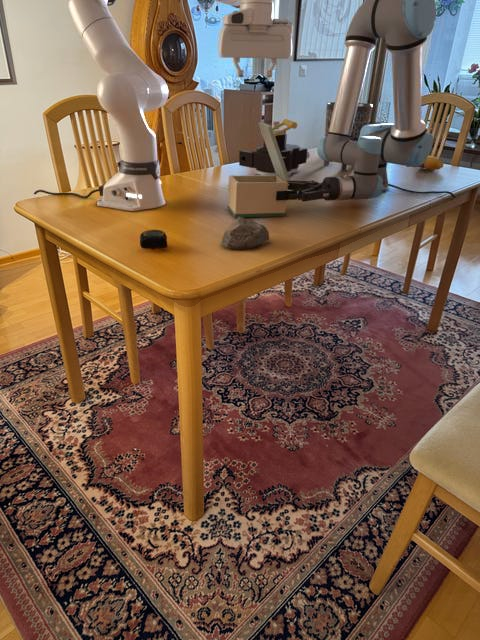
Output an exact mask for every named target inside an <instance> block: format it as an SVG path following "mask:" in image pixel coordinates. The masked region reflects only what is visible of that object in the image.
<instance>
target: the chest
mask: <svg viewBox="0 0 480 640" xmlns="http://www.w3.org/2000/svg"><path fill="white" fill-rule="evenodd" d="M287 189H288V182H286V181H285V180H284V179H283V178H281V177H280V176H278V175H260V174H257V175H256V174H255V175H252V174H251V175H247V174H246V175H228V190H227V191H228V192H227V193H228V195H227V210H228V211H229V212H230V213H231V214H232V216H233V217H234V218H238V217H242V218H263V217H266V218H267V217H269V218H270V217H286V209H287V208H286V206H287V200H278V201H277V200H276V195H277V191H288V190H287Z"/></svg>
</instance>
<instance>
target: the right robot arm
mask: <svg viewBox="0 0 480 640" xmlns="http://www.w3.org/2000/svg"><path fill="white" fill-rule="evenodd" d="M436 19H437V4H436V1H435V0H364V1H363V2H362V3H361V5H359V7H358V8H357V10H356V12H355V13H354V15H353V17H352V19H351V21H350V23H349V25H348V28H347V30H346V35H345V40H344V45H345V48H346V50H345V55H344V59H343V62H342V63H343V64H342V69H341V73H340V78H339V83H338V86H337V92H336V96H335V100H334V102H335V105H334V109H333V114H332V119H331V123H330V128H329V132H328V136H327V137H325V136H323V137H322V138H320V140H319V143H318V144H317V150H316V151H317V156H318V157H319V158H320V159H321V160H323V161H324V160H327V161H330V162H329V163H337V164H342V163H343V164H347V166H352V167H353V171H351V174H350V175H348V174H344V176H326V177H324V178H323V179H322V182H321V183H320V182H319V181H315V180H296V179H293V180H292V179H290V180H288V181H286V180H285V181H286V182H288V189H287V191H277V195H276V200H277V201H278V200H286V201H295V200H297V201H301V202H302V203H304V202H311V201H317V200H324V201H325V202H328V201H329V202H330V201H349V200H371V199H375V198H378V197H380V196H381V194H382V192H386V191H388V189H389V187H391V188H395V189H397V190H399V191H403V192H407V193H412V194H419V195H420V194H421V195H424V194H448V195H450V196H452V197H453V198H456V195H455V194H454V193H453V192H451V191H448V190H440V191H436V190H431V191H420V190H419V191H418V190H410V189H406V188H402V187H400V186H397V185H394V184H390V183H389V178H388V173H387V172H388V171H387V166H388V164H393V165H398V166H403V167H404V166H405V167H406V168H419V166H421V165H422V164H423V163H424V162H425V161H426V159H427V157H428V156H430V154H431V151H432V148H433V145H434V135H433V133H430V132H427V124H426V122H424V121H423V120H422V54H423V53H422V51H423V50H422V48H423V46H424V44H425V43H426V42H427V40H428V36H430V34H431V33H432V31H434V27H435V22H436ZM379 39H384V40H385V48H386V50H387V51H388V52H389V53H391V72H392V97H393V117H394V118H393V120H394V123H373V124H369V125H365V126H363V127H362V128H361V132H360V136H359V139H358V141H351V140H350V136H351V132H352V128H353V123H354V119H355V115H356V111H357V107H358V103H360V98H361V94H362V90H363V87H364V86H363V85H364V81H365V77H366V73H367V69H368V65H369V61H370V56H371V52H372V51H373V50H374V49H376V46H377V42H378V40H379Z"/></svg>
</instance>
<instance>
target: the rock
mask: <svg viewBox="0 0 480 640" xmlns="http://www.w3.org/2000/svg"><path fill="white" fill-rule="evenodd" d="M269 241H270V233H269V230H268V229H267V228H266V226H265V225H263V224H261V223H259V222H256V221H255V220H252V219H247V218H246V217H236V219H235V221H234V222H233V223H232V224H231V225H229V226H228V227H227V228H226V229H225V231H224V233H223V236H222V239H221V244H222V247H224V248H229V249H231V250H245V249H254V248H257V247H259V246H260V245H264V244H266V242H269Z"/></svg>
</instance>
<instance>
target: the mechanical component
mask: <svg viewBox="0 0 480 640" xmlns="http://www.w3.org/2000/svg"><path fill="white" fill-rule="evenodd" d="M280 123H281V122H280V121H279V120H272V125H271V127H272V128H273V127H275V126H277V125H278V124H280ZM284 128H285V127H279V128H277V129H275V130H273V132H274V134H275V133H277V132H279V131H280V130H282V129H284ZM275 138H276V141H277V144H278V147H279V150H280V153H281V155H282V158H283V161H284V164H285V167H286V170H287V173H288V176H291V175H292V173H298V171H299V167H300V165H303V164H304V165H305V164H307V160H309V158H310V156H311V154H310V152H309V151H308V148H304V147H301V146H299V145H297V144H290V143H287V138H288V130H287V131H285V132H283V133H281V134H279V135H277V136H275ZM238 154H239V155H238V157H239V159H238V166H240V167H245V168H250V169H255V173H256V174H257V175H277V174H276V172H275V169H274V166H273V163H272V161H271V158H270V155H269V152H268V150H267V147H266V144H265V141H264V140H263V145H262V146H258V147H257V148H256V151H250V150H245V149H241V150H239V153H238Z"/></svg>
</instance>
